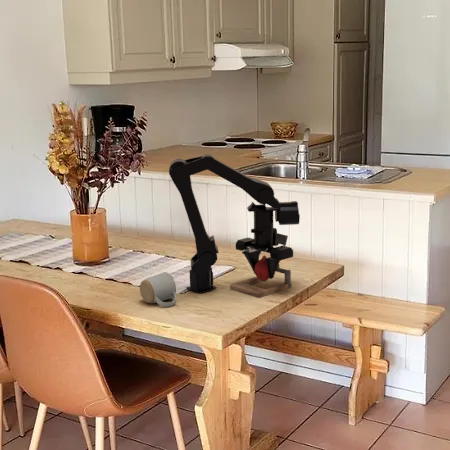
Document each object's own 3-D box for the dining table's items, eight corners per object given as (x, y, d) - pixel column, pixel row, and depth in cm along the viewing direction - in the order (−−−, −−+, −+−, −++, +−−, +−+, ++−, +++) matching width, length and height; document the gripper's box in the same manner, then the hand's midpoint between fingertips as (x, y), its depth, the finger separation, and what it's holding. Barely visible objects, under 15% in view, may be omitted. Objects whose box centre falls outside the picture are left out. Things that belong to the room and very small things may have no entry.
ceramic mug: (138, 300, 201) (137, 275, 199) (161, 294, 206) (161, 269, 204) (160, 310, 193) (158, 284, 191) (183, 303, 198) (183, 277, 196)
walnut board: (259, 297, 201) (259, 277, 199) (229, 288, 209) (229, 269, 208) (292, 286, 210) (292, 267, 208) (262, 278, 218) (262, 259, 217)
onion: (272, 285, 207) (272, 258, 205) (253, 284, 208) (252, 258, 206) (275, 279, 212) (275, 253, 211) (256, 278, 214) (256, 252, 212)
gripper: (306, 225, 205) (305, 277, 209) (260, 216, 218) (260, 264, 222) (279, 232, 198) (280, 285, 201) (234, 222, 211) (234, 272, 215)
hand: (264, 276), depth 210 cm, fingers closed on onion, 6 cm apart
